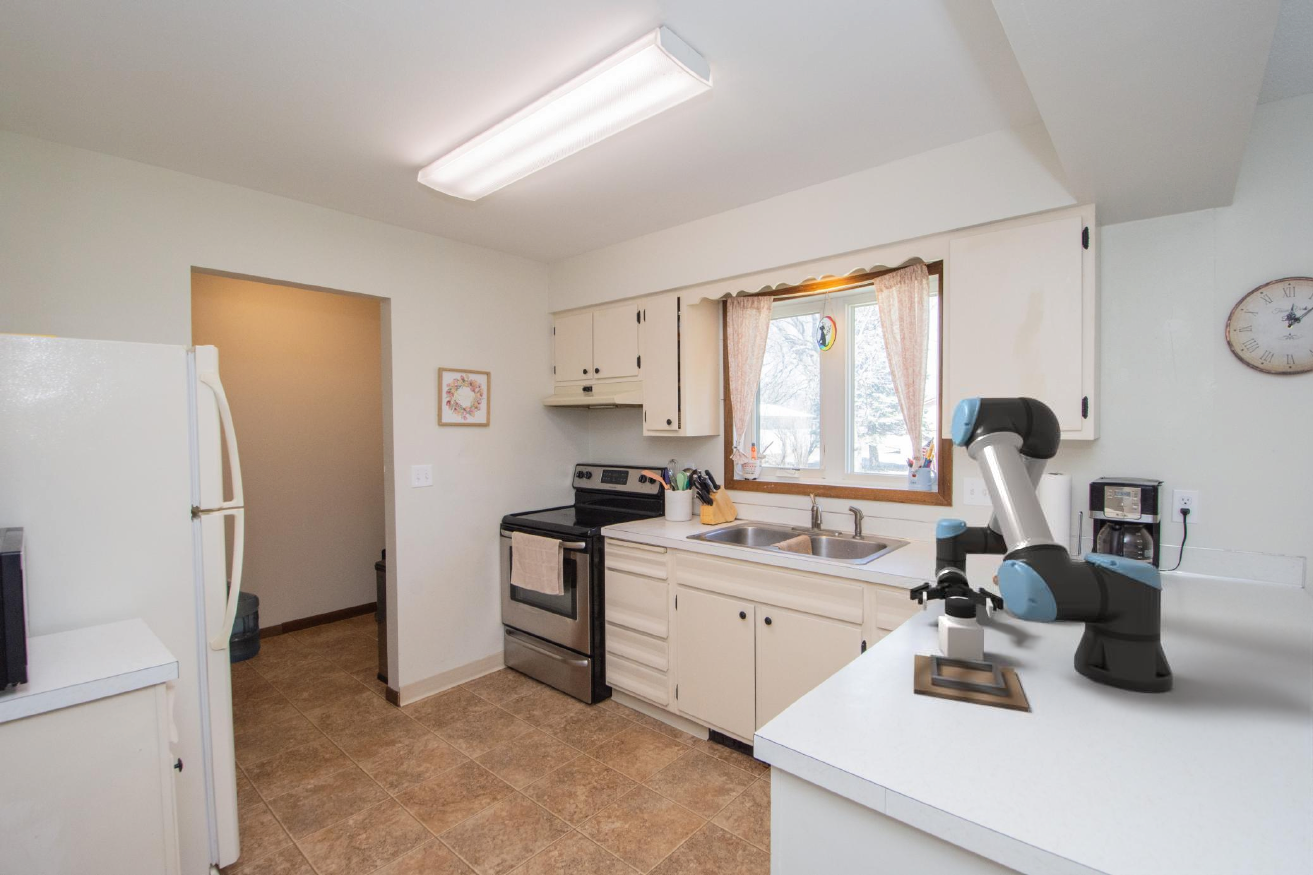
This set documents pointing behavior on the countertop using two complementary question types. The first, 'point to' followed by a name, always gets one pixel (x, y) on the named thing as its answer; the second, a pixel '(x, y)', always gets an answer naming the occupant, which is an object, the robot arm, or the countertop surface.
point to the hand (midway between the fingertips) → (957, 608)
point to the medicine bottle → (961, 630)
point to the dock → (968, 681)
